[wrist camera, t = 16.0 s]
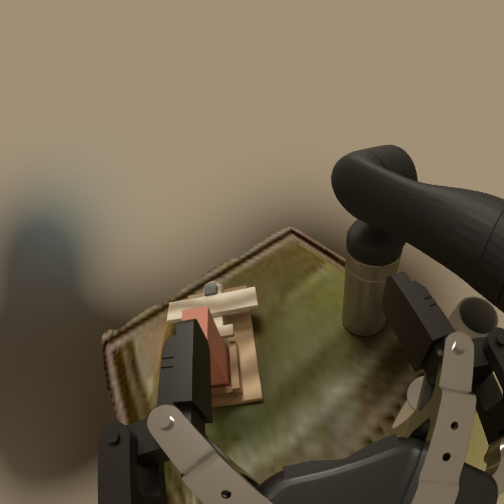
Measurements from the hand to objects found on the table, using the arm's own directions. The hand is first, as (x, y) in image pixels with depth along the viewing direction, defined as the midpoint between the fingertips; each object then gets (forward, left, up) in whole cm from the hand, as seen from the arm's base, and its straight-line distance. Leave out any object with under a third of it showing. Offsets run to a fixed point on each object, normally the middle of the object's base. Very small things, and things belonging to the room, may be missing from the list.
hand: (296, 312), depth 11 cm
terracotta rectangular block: (-3, -21, -34) cm, 40 cm away
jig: (-9, -28, -35) cm, 46 cm away
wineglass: (-19, +12, -35) cm, 42 cm away
